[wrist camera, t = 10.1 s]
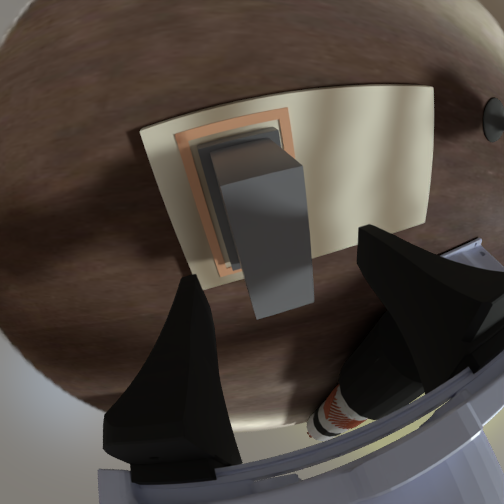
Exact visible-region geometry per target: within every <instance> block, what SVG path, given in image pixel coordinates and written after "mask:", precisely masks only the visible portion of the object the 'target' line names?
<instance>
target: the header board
mask: <svg viewBox="0 0 504 504" xmlns="http://www.w3.org/2000/svg"><path fill="white" fill-rule="evenodd" d="M140 134H141V137H142V141H143V144H144V147H145V150H146V153H147V156H148V159H149V162H150V165H151V167H152V170H153V173H154V176H155V179H156V182H157V184H158V187H159V190H160V193H161V196H162V198H163V201H164V204H165V206H166V209H167V212H168V214H169V217H170V220H171V222H172V225H173V227H174V230H175V232H176V235H177V238H178V240H179V243H180V245H181V248H182V250H183V252H184V255H185V257H186V260H187V262H188V265H189V267H190V269H191V272H192V274H196V275H197V277H198V279H199V282H200V284H201V287H202V289H203V290H205V289H208V288H212V287H216V286H219V285H223V284H226V283H230V282H233V281H237V280H240V279H244V276H243V272H242V269H241V266H240V262H239V259H238V255H237V252H236V248H235V244H234V241H233V237H232V233H231V230H230V226H229V222H228V219H227V215H226V211H225V208H224V204H223V200H222V197H221V193H220V189H219V185H218V182H217V178H216V174H215V170H214V167H213V163H212V159H211V155H210V152H212V151H215V150H219V149H223V148H227V147H231V146H235V145H239V144H243V143H247V142H251V141H256V140H260V139H265V138H269V139H271V140H272V141H273V142H275V143H276V144H277V145H278V146H280V147H281V148H282V149H283V150H284V151H286V152H287V153H288V154H289V155H291V156H292V157H293V158H294V159H295V160H297V161H298V162H299V163H300V164H301V165H303V170H304V179H305V188H306V197H307V208H308V218H309V230H310V242H311V255H312V258H315V257H318V256H322V255H325V254H328V253H331V252H335V251H338V250H341V249H344V248H348V247H351V246H354V245H357V244H358V227H361V226H364V225H368V224H371V225H374V226H376V227H378V228H380V229H383V230H385V231H387V232H389V233H391V234H392V233H395V232H398V231H401V230H404V229H407V228H410V227H413V226H416V225H419V224H422V223H425V218H426V212H427V205H428V198H429V189H430V181H431V170H432V158H433V140H434V89H433V87H431V86H426V85H410V84H369V85H348V86H334V87H323V88H313V89H305V90H297V91H290V92H283V93H277V94H271V95H265V96H260V97H254V98H249V99H244V100H240V101H235V102H230V103H226V104H222V105H218V106H214V107H210V108H206V109H202V110H198V111H195V112H191V113H188V114H184V115H181V116H177V117H174V118H171V119H168V120H165V121H162V122H159V123H156V124H153V125H150V126H147V127H144V128H142V129H141V130H140Z"/></svg>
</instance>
